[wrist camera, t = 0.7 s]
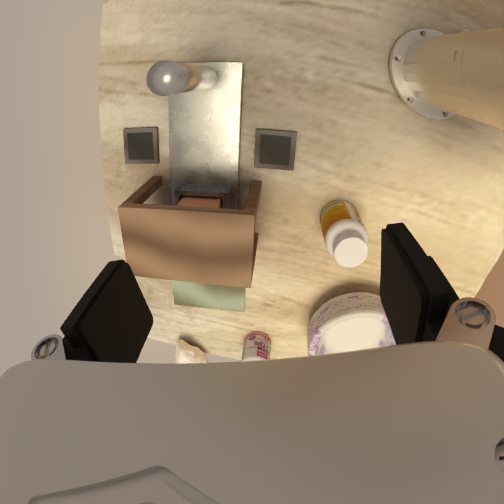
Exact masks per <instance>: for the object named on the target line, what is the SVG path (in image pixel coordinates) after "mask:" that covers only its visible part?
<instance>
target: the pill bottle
mask: <svg viewBox="0 0 504 504" xmlns="http://www.w3.org/2000/svg"><path fill="white" fill-rule="evenodd" d="M270 349H271V340H270V338H269V337H268V336H267V335H266V334H264V333H260V332H253V333H250V334H248V335H247V336H246V338H245V341H244V348H243V354H242V361H241V362H243V361H258V360H270Z"/></svg>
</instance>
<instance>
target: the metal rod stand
mask: <svg viewBox="0 0 504 504" xmlns="http://www.w3.org/2000/svg"><path fill="white" fill-rule="evenodd" d="M242 78H243V63H241V62H204V63H182V62H174V61H160V62H157V63H156V64H154V65H153V66H152V67H151V68H150V70H149V71H148V74H147V85H148V87H149V89H150V90H151V91H152V92H153V93H154V94H156V95H160V96H166V95H169V147H170V175H171V195H172V205H175V206H177V204H178V203H179V202H180V200H181V199H182V198H183V196H184V195H188V196H207V197H222V208H224V209H238V179H239V150H240V124H241V100H242Z"/></svg>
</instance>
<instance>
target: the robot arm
mask: <svg viewBox="0 0 504 504" xmlns="http://www.w3.org/2000/svg"><path fill="white" fill-rule="evenodd" d="M420 33H421V34H422V36H421V35H420ZM395 57H397V61H396V60H395ZM389 72H390V77H391V81H392V84H393V86H394V89H395V91H396V92H397V94H398V96H399V98H400V99H401V100H402V101H403V102H404V104H405V105H406V106H407V107H409V108H410V109H411V110H412V111H414V112H415V113H417V114H419V115H421V116H424V117H426V118H430V119H435V120H444V119H449V118H451V117H454V116H456V115H459V116H463V117H466V118H469V119H472V120H475V121H478V122H481V123H484V124H487V125H490V126H492V127H495V128H498V129H501V130H504V27H501V28H492V29H483V30H475V31H469V30H468V29H467V28H464V29H463V30H462V31H461V32H460V33H455V34H449V35H447V34H445V33H443V32H441V31H439V30H435V29H431V28H419V29H414V30H411V31H409V32H407V33H405V34H404V35H402V36H401V37H400V38H399V39H398V40H397V41H396V43H395V45H394V46H393V48H392V51H391V54H390V60H389ZM407 98H409V101H407ZM443 112H444V113H443ZM380 299H381V303H382V306H383V308H384V311H385V314H386V317H387V320H388V322H389V325H390V328H391V331H392V334H393V337H394V340H395V343H396V345H392V346H384V347H377V348H369V349H362V350H355V351H348V352H340V353H332V354H324V355H315V356H305V357H295V358H284V359H272V360H258V361H243V362H223V363H186V364H154V363H153V364H152V363H149V364H148V363H136V362H137V359H138V357H139V355H140V352H141V350H142V348H143V345H144V343H145V341H146V339H147V336H148V334H149V332H150V330H151V327H152V325H153V316H152V314H151V312H150V310H149V307H148V305H147V303H146V301H145V299H144V297H143V294H142V292H141V290H140V288H139V285H138V283H137V281H136V279H135V276H134V274H133V272H132V269H131V267H130V265H129V264H128V263H126V262H125V261H124V260H117V261H110V262H109V263H108V264H107V265H106V266H105V268H104V269H103V270H102V272H101V273H100V274H99V276H98V277H97V278H96V279H95V281H94V282H93V283H92V285H91V286H90V287H89V289H88V290H87V291H86V293H85V294H84V295H83V297H82V298H81V299H80V301H79V302H78V303H77V305H76V306H75V308H74V309H73V310H72V312H71V313H70V315H69V316H68V317H67V319H66V320H65V322H64V323H63V325H62V326H61V328H60V329H61V331H62V332H63V334H64V335H65V337H64V338H63V339H62V338H61V336H59V335H56V334H54V335H49V336H47V337H45V338H43V339H42V340H41V341H39V342H38V343H37V344H36V346H35V347H34V348H33V351H32V354H31V361H26V362H23V363H20V364H17V365H15V366H13V367H11V368H9V369H8V370H7V371H6V372H5V373H4V374H3V375H2V376H1V377H0V504H504V328H503V327H500V326H497V325H495V320H496V315H495V313H494V310H493V309H492V308H491V306H490V305H489V304H487V303H486V302H484V301H482V300H480V299H477V298H472V297H469V298H462V299H459V297H458V296H457V294H456V292H455V291H454V289H453V288H452V286H451V285H450V283H449V282H448V280H447V279H446V277H445V276H444V274H443V273H442V271H441V270H440V268H439V267H438V265H437V264H436V262H435V261H434V260H433V258H432V257H431V256H427V255H426V254H425V252H424V251H423V249H422V248H421V246H420V245H419V244H418V242H417V241H416V239H415V238H414V237H413V235H412V234H411V233H410V231H409V230H408V229H407V227H406V226H405V224H404V223H395V224H387V227H386V229H382V233H381V278H380Z"/></svg>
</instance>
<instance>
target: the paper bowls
mask: <svg viewBox="0 0 504 504" xmlns="http://www.w3.org/2000/svg"><path fill="white" fill-rule="evenodd" d="M307 339H308V355H309V356H315V355H324V354H332V353H340V352H348V351H355V350H362V349H369V348H377V347H384V346H392V345H396V343H395V340H394V337H393V334H392V331H391V328H390V325H389V322H388V320H387V317H386V314H385V311H384V308H383V306H382V303H381V299H380V296H379V295H376V294H373V293H368V292H352V293H347V294H343V295H339V296H337V297H334V298H332V299H330V300H329V301H327V302H325V303H324V304H323V305H322V306H321V307H320V308H319V309H318V310H317V311H316V312H315V313H314V314H313V316H312V318H311V320H310V322H309V325H308V335H307Z"/></svg>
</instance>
